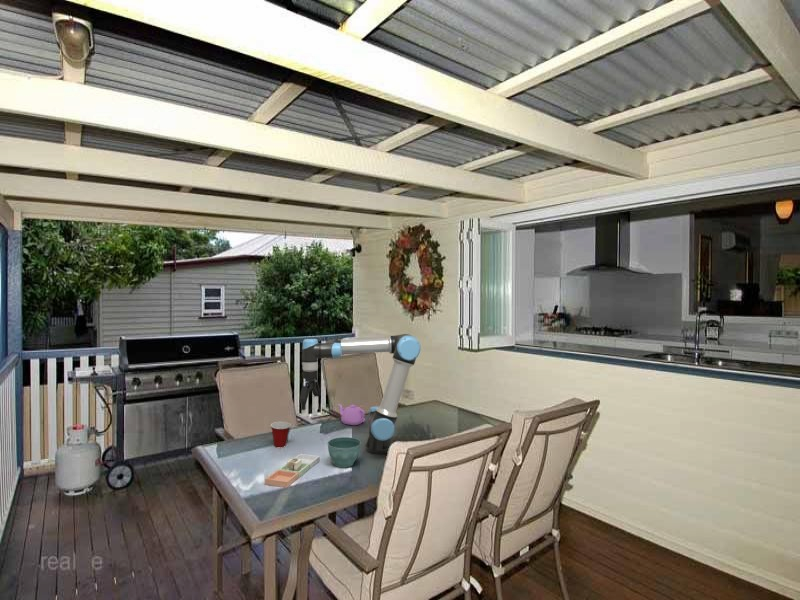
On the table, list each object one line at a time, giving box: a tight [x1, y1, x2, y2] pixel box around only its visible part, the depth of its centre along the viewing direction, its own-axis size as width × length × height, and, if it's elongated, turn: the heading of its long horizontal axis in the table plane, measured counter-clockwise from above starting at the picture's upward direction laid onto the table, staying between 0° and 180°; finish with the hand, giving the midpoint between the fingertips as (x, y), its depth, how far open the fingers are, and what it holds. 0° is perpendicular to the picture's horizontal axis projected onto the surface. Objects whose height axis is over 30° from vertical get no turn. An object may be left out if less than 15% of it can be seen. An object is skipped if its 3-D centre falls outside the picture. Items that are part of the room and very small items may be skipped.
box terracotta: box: [264, 469, 300, 489], centre depth 200 cm, size 11×11×2 cm
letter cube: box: [286, 457, 302, 472], centre depth 210 cm, size 5×5×5 cm
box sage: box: [277, 463, 311, 479], centre depth 211 cm, size 11×11×2 cm
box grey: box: [294, 453, 321, 470], centre depth 221 cm, size 11×11×2 cm
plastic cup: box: [270, 421, 292, 448], centre depth 245 cm, size 11×11×12 cm
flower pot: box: [327, 436, 362, 468], centre depth 222 cm, size 16×16×11 cm
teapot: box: [337, 403, 366, 426], centre depth 292 cm, size 20×13×12 cm, turn 68°
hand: (310, 412), depth 226 cm, fingers open, 13 cm apart
